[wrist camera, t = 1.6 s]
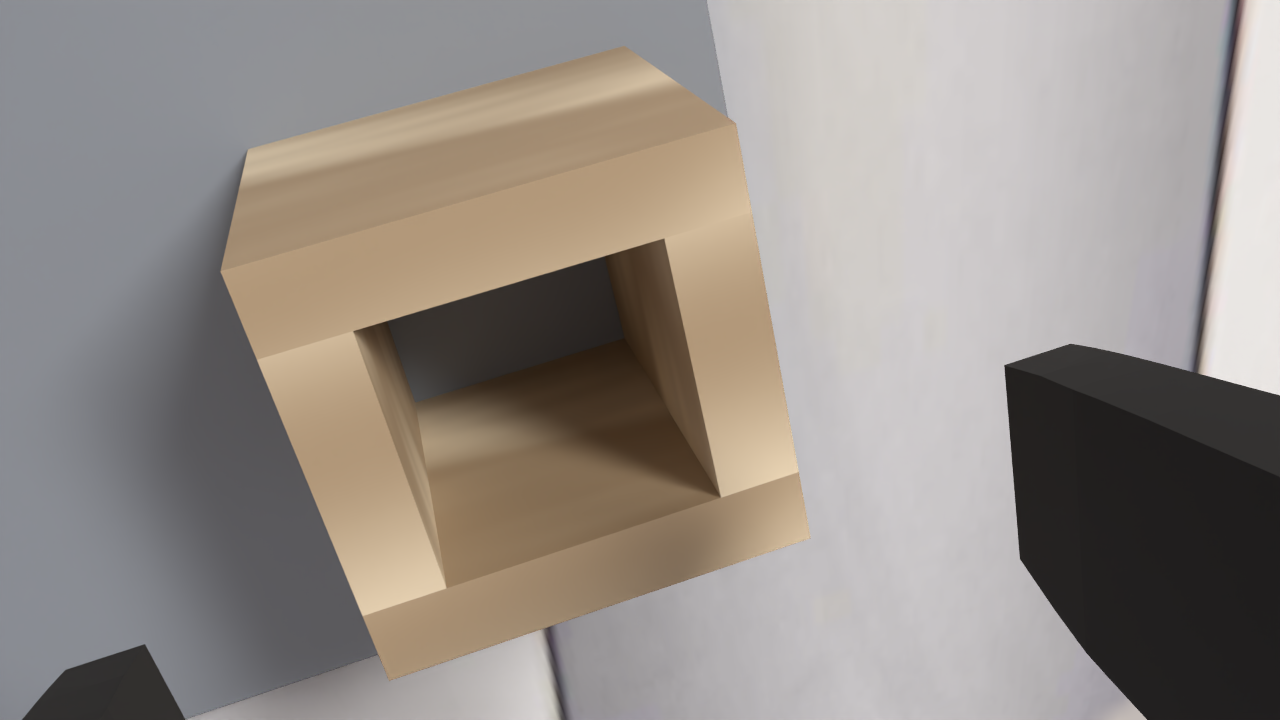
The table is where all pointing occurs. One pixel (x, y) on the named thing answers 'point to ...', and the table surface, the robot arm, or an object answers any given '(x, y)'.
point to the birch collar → (536, 396)
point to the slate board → (223, 313)
